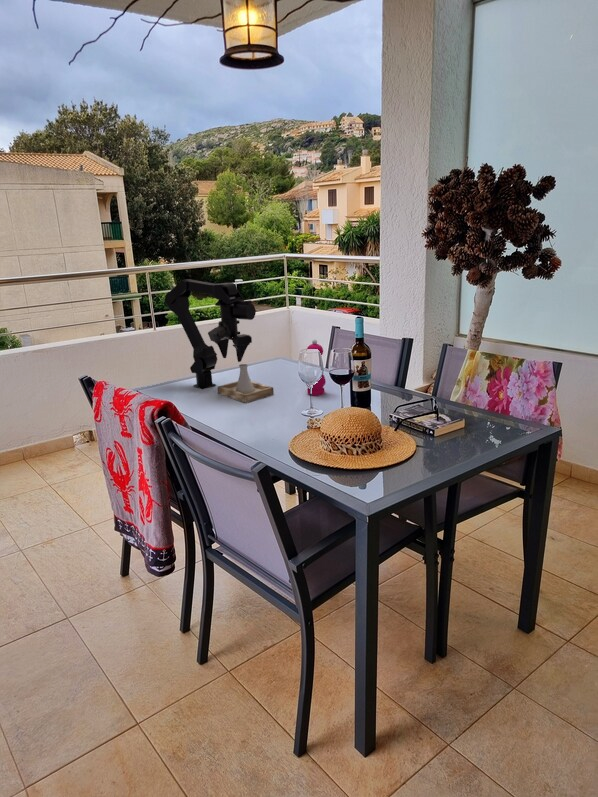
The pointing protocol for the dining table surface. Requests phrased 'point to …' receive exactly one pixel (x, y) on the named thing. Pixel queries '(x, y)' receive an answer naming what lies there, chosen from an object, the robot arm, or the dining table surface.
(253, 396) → the serving tray
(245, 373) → the flask
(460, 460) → the dining table surface
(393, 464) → the dining table surface
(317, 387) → the pepper mill
